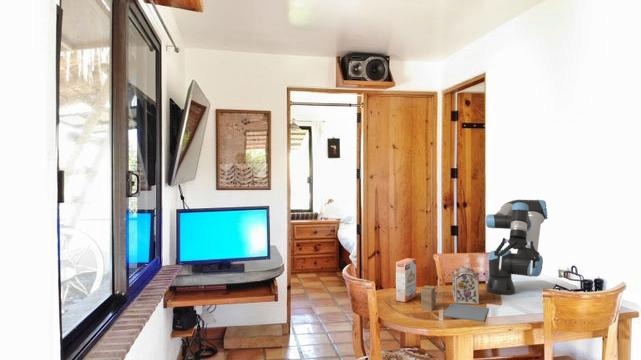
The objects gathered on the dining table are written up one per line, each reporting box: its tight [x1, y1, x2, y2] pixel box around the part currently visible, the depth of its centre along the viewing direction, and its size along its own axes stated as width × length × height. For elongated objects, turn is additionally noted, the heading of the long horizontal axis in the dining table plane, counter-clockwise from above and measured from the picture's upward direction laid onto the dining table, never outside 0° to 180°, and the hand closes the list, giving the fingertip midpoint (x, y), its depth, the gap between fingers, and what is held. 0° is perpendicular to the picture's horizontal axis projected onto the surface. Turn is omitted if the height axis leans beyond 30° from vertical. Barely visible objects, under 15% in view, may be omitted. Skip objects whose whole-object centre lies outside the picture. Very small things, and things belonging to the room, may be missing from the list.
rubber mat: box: [442, 303, 489, 323], centre depth 193 cm, size 20×18×1 cm
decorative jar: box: [452, 265, 480, 306], centre depth 212 cm, size 12×12×18 cm
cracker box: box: [395, 257, 417, 303], centre depth 217 cm, size 14×6×21 cm, turn 143°
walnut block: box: [420, 284, 436, 312], centre depth 202 cm, size 9×5×10 cm, turn 152°
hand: (515, 271), depth 195 cm, fingers open, 13 cm apart
